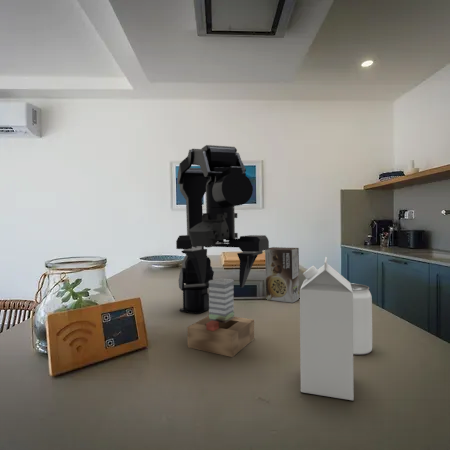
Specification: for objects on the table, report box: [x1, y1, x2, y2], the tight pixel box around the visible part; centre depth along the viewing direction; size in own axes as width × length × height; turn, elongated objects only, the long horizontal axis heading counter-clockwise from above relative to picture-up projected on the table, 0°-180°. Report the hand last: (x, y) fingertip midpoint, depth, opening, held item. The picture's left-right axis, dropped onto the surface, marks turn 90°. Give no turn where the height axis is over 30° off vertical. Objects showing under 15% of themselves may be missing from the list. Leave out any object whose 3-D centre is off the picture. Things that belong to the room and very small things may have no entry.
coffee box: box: [264, 246, 300, 304], centre depth 98 cm, size 9×6×16 cm
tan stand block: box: [186, 315, 255, 358], centre depth 64 cm, size 10×10×5 cm
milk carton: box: [299, 256, 355, 401], centre depth 47 cm, size 7×7×19 cm
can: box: [350, 283, 373, 356], centre depth 60 cm, size 6×6×12 cm
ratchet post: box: [208, 277, 235, 323], centre depth 64 cm, size 4×4×8 cm
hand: (221, 285), depth 63 cm, fingers open, 9 cm apart
